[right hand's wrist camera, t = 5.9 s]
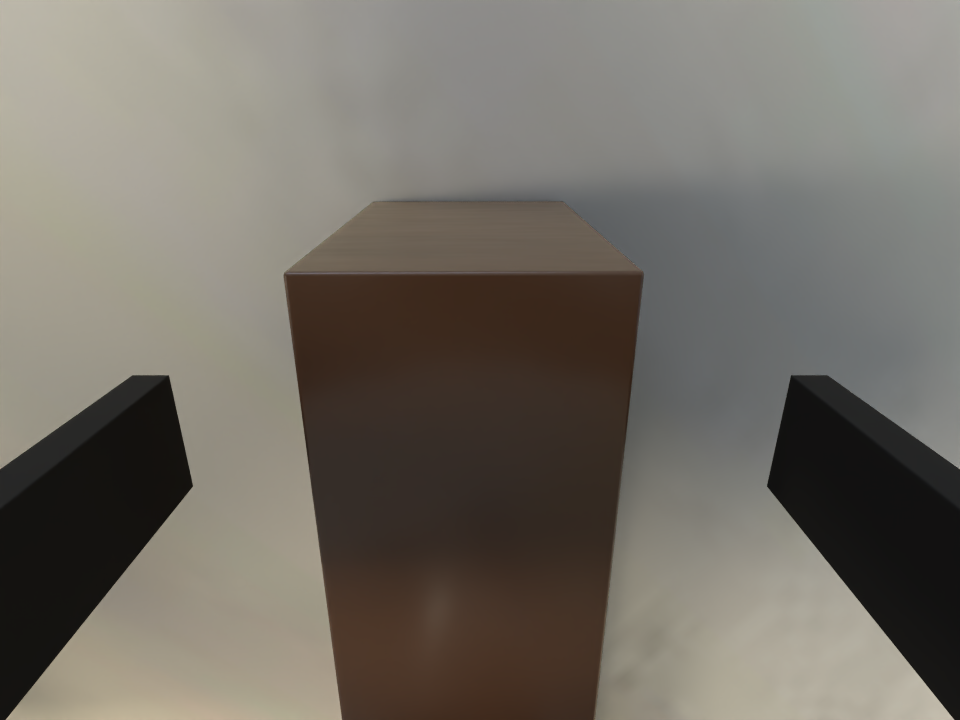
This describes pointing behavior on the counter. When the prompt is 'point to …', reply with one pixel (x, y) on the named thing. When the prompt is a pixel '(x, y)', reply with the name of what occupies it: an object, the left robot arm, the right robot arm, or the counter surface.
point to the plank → (465, 453)
